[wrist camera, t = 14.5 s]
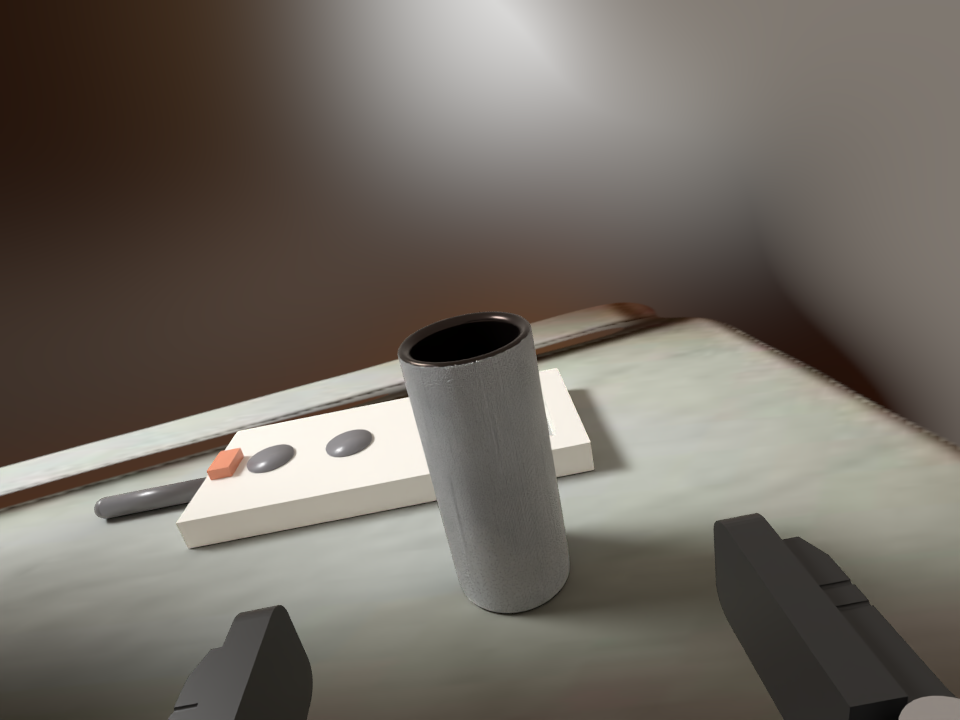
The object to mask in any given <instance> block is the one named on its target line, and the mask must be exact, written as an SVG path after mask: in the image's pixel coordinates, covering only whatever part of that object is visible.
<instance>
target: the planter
mask: <svg viewBox="0 0 960 720" xmlns="http://www.w3.org/2000/svg"><path fill="white" fill-rule="evenodd" d="M398 358H399V362H400V366H401V369H402V373H403V377H404V381H405V384H406V388H407V392H408V395H409V399H410V403H411V406H412V410H413V414H414V418H415V421H416V425H417V429H418V432H419V436H420V440H421V443H422V447H423V451H424V454H425V458H426V462H427V466H428V469H429V473H430V477H431V480H432V484H433V488H434V491H435V495H436V499H437V502H438V506H439V510H440V513H441V517H442V521H443V525H444V528H445V532H446V536H447V539H448V543H449V547H450V550H451V554H452V558H453V561H454V565H455V569H456V573H457V576H458V579H459V582H460V585H461V587H462V590H463V592H464V593H465V595H466V596H467V597H468V599H470V600H471V601H472V602H473V603H474V604H476V605H477V606H479V607H481V608H484V609H486V610H489V611H493V612H499V613H516V612H522V611H526V610H530V609H533V608H535V607H537V606H540V605H542V604H543V603H545V602H547V601H548V600H550V599H551V598H552V597H553V596H554V595H556V594H557V593H558V592H559V591H560V589H561V588H562V587H563V585H564V584H565V582H566V580H567V578H568V574H569V570H570V560H569V550H568V544H567V538H566V532H565V526H564V520H563V514H562V508H561V502H560V496H559V490H558V484H557V478H556V472H555V466H554V460H553V454H552V448H551V442H550V436H549V430H548V424H547V418H546V412H545V406H544V400H543V394H542V388H541V382H540V376H539V370H538V364H537V358H536V352H535V346H534V340H533V335H532V329H531V325H530V324H529V322H528V321H527V320H526V319H524V318H523V317H521V316H518V315H515V314H512V313H506V312H479V313H471V314H465V315H460V316H456V317H452V318H448V319H444V320H441V321H438V322H435V323H433V324H431V325H428V326H426V327H424V328H422V329H420V330H418V331H416V332H415V333H413V334H411V335H410V336H409V337H408V338H406V339H405V340H404V341H403V343H402V344H401V346H400V347H399V350H398Z"/></svg>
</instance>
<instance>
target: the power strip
mask: <svg viewBox="0 0 960 720" xmlns="http://www.w3.org/2000/svg"><path fill="white" fill-rule="evenodd" d="M539 376H540V382H541V388H542V394H543V400H544V406H545V412H546V416H547V419H548V422H549V425H550V428H551V431H552V434H553V435H551V436H550V442H551V448H552V454H553V460H554V466H555V472H556V477H560V476H565V475H571V474H576V473H581V472H586V471H591V470H594V463H593V455H592V448H591V442H590V440H589V437H588V435H587V433H586V431H585V428H584V426H583V424H582V422H581V419H580V417H579V415H578V413H577V411H576V408H575V406H574V404H573V402H572V399H571V397H570V395H569V393H568V390H567V388H566V386H565V384H564V382H563V379H562V377H561V375H560V373H559V370H558V368H554V369H549V370H544V371H539ZM207 473H208V476H207V477H205V478H200V479H195V480H190V481H185V482H180V483H175V484H170V485H165V486H160V487H154V488H149V489H144V490H139V491H134V492H129V493H124V494H119V495H114V496H109V497H104V498H102V499H100V500H99V501H98V502H97V503H96V504H95V507H94V511H95V514H96V515H97V516H98V517H100V518H104V519H106V518H112V517H117V516H122V515H127V514H132V513H137V512H142V511H148V510H153V509H158V508H163V507H168V506H173V505H178V504H183V503H188V502H190V503H189V504H188V506H187V507H186V509H185V510H184V512H183V513H182V515H181V516H180V518H179V519H178V521H177V522H176V525H177V527H178V529H179V531H180V533H181V535H182V537H183V539H184V541H185V543H186V545H187V547H188V549H189V548H194V547H200V546H205V545H210V544H215V543H220V542H225V541H230V540H236V539H241V538H246V537H251V536H256V535H261V534H267V533H272V532H277V531H282V530H287V529H292V528H297V527H303V526H308V525H313V524H318V523H323V522H328V521H333V520H339V519H344V518H349V517H354V516H359V515H364V514H370V513H375V512H380V511H385V510H390V509H395V508H400V507H406V506H411V505H416V504H421V503H426V502H431V501H437V499H436V495H435V491H434V488H433V484H432V480H431V477H430V473H429V469H428V466H427V462H426V458H425V454H424V451H423V447H422V443H421V440H420V436H419V432H418V429H417V425H416V421H415V418H414V414H413V410H412V406H411V403H410V399H409V397H408V398H403V399H398V400H393V401H388V402H383V403H378V404H373V405H368V406H363V407H358V408H353V409H348V410H343V411H337V412H332V413H327V414H322V415H317V416H312V417H307V418H302V419H297V420H292V421H287V422H283V423H277V424H272V425H267V426H262V427H257V428H252V429H247V430H242V431H238V432H237V433H236V434H235V436H234V438H233V439H232V441H231V442H230V443H229V445H228V446H227V448H226V449H225V451H221V452H220V453H219V454H218V455H217V457H216V458H215V460H214V461H213V463H212V464H211V466H210V467H209V469H208V470H207Z"/></svg>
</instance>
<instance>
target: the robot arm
mask: <svg viewBox="0 0 960 720" xmlns="http://www.w3.org/2000/svg"><path fill="white" fill-rule="evenodd" d="M714 548H715V569H716V586H717V592H718V596H719V600H720V603H721V606H722V609H723V611H724V614H725V616H726V618H727V620H728V622H729V624H730V625H731V627H732V629H733V631H734V633H735V634H736V636H737V638H738V640H739V641H740V643H741V645H742V647H743V648H744V650H745V652H746V654H747V655H748V657H749V659H750V661H751V662H752V664H753V666H754V668H755V670H756V671H757V673H758V675H759V677H760V678H761V680H762V682H763V684H764V685H765V687H766V689H767V691H768V692H769V694H770V696H771V698H772V699H773V701H774V703H775V705H776V706H777V708H778V710H779V712H780V714H781V715H782V717H783V719H784V720H960V699H958V698H957V697H955V696H954V695H953V694H952V693H951V692H950V691H949V690H948V689H947V688H946V687H945V686H944V685H943V683H942V682H941V681H940V680H939V679H938V678H937V677H936V676H935V674H934V673H933V672H932V671H931V670H930V669H929V668H928V667H927V665H926V664H925V663H924V662H923V661H922V660H921V659H920V658H919V656H918V655H917V654H916V653H915V652H914V651H913V650H912V649H911V647H910V646H909V645H908V644H907V643H906V642H905V641H904V639H903V638H902V637H901V636H900V635H899V634H898V633H897V632H896V630H895V629H894V628H893V627H892V626H891V625H890V624H889V623H888V621H887V620H886V619H885V618H884V617H883V616H882V615H881V614H880V612H879V611H878V610H877V609H876V608H875V607H874V606H871V605H870V604H869V601H868V599H867V598H866V597H865V596H864V594H863V593H862V592H861V591H860V590H859V589H858V588H857V587H856V585H855V584H854V585H852V583H851V581H850V579H849V578H848V576H847V575H846V574H845V573H844V572H843V571H842V570H841V569H840V567H839V566H838V565H837V564H836V563H835V562H834V561H833V560H832V558H831V557H830V556H829V555H828V554H826V553H824V552H823V551H821V550H819V549H818V548H816V547H815V546H813V545H811V544H810V543H808V542H806V541H805V540H803V539H801V538H800V537H794V538H789V539H784V540H782V539H781V538H780V537H779V535H778V534H777V533H776V532H775V531H774V529H773V528H772V527H771V526H770V524H769V523H768V522H767V521H766V519H765V518H764V517H763V516H762V515H760V514H758V513H755V514H750V515H744V516H739V517H734V518H729V519H724V520H719V521H716V522H715V524H714ZM312 687H313V681H312V671H311V666H310V662H309V660H308V657H307V655H306V653H305V650H304V648H303V646H302V644H301V641H300V639H299V637H298V635H297V632H296V630H295V628H294V625H293V623H292V621H291V619H290V616H289V614H288V612H287V610H286V609H285V607H283V606H282V605H277V606H272V607H267V608H262V609H257V610H252V611H247V612H242V613H239V614H238V615H237V616H236V617H235V619H234V621H233V623H232V625H231V628H230V630H229V632H228V635H227V637H226V639H225V642H224V644H223V647H220V648H215V649H211V650H210V651H209V652H208V654H207V655H206V656H205V657H204V658H203V660H202V661H201V662H200V663H199V664H198V666H197V667H196V668H195V669H194V671H193V672H192V673H191V674H190V675H189V677H188V678H187V680H186V682H185V685H184V687H183V689H182V691H181V693H180V695H179V698H178V700H177V702H176V704H175V706H174V713H172V714H171V715H170V717H169V719H168V720H307V715H308V711H309V707H310V702H311V697H312Z"/></svg>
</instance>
